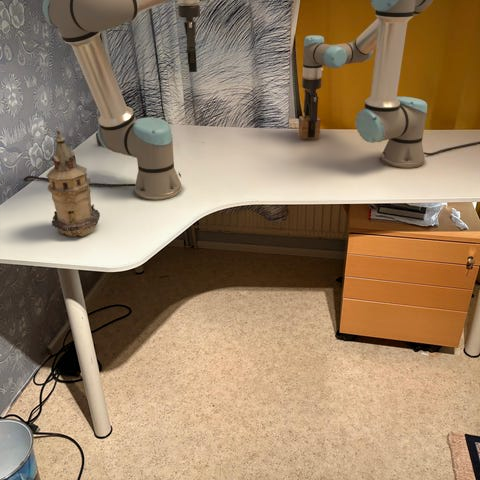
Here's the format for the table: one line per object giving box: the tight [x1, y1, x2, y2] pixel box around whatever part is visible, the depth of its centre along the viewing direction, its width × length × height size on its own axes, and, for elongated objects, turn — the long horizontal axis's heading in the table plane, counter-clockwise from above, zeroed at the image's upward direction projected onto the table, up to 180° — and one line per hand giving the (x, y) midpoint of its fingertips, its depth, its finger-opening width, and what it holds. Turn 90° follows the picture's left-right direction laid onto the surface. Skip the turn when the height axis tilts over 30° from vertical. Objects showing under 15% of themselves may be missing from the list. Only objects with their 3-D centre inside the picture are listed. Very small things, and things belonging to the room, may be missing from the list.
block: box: [298, 115, 321, 139], centre depth 221 cm, size 7×8×7 cm
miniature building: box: [45, 129, 101, 237], centre depth 148 cm, size 13×14×30 cm
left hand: (192, 67), depth 195 cm, fingers open, 13 cm apart
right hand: (309, 134), depth 222 cm, fingers closed on block, 7 cm apart
